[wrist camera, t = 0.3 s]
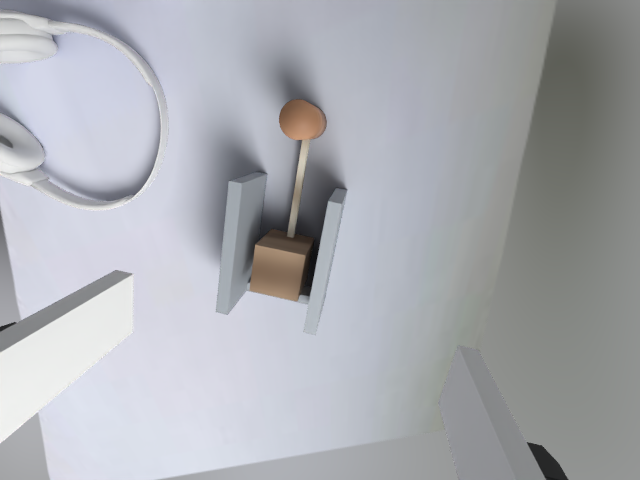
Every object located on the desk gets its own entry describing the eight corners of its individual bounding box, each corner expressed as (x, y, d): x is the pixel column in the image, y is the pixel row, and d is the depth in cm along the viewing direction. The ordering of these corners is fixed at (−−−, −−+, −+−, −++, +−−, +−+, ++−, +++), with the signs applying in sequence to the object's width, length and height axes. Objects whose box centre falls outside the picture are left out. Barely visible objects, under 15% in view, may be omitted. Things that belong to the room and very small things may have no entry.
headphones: (-75, 171, 34) (130, 238, 37) (-73, -39, 29) (168, 58, 31) (-11, 161, 41) (158, 219, 44) (0, -10, 35) (194, 68, 38)
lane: (256, 171, 38) (228, 180, 30) (347, 190, 37) (342, 204, 29) (243, 279, 42) (215, 312, 34) (325, 298, 41) (315, 335, 33)
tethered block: (289, 101, 35) (271, 94, 29) (337, 110, 35) (331, 105, 28) (265, 269, 41) (246, 294, 34) (307, 278, 41) (295, 306, 34)
